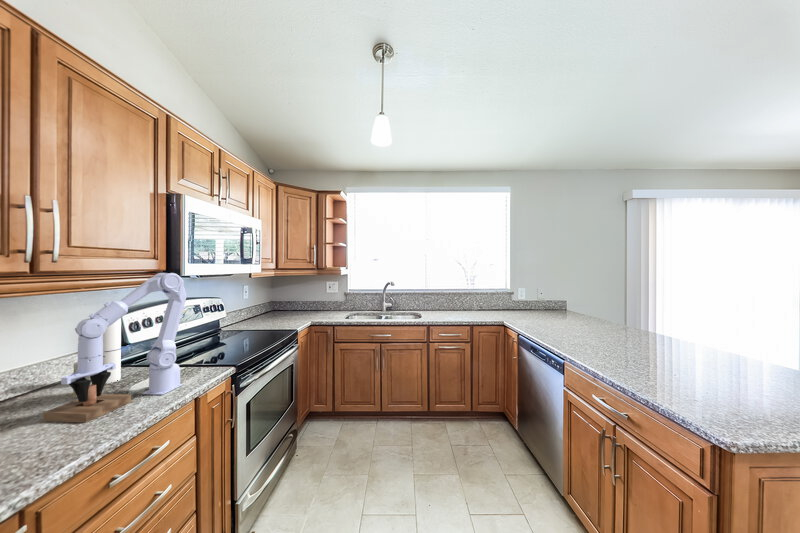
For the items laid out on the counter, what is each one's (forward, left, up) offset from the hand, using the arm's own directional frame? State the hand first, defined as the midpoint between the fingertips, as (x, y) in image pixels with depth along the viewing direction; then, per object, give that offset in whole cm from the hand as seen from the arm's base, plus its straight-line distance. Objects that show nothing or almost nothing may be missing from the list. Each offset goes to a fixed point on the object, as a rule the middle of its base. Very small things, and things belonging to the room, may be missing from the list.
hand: (90, 398), depth 98 cm
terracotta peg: (0, 0, -4) cm, 4 cm away
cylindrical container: (-25, -21, -4) cm, 33 cm away
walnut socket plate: (0, 0, -4) cm, 4 cm away
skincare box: (-12, -16, -4) cm, 20 cm away
